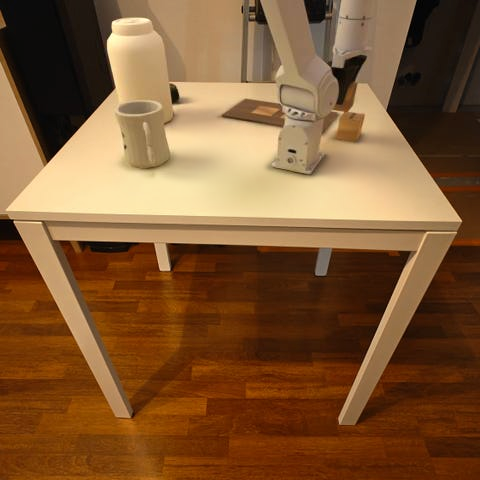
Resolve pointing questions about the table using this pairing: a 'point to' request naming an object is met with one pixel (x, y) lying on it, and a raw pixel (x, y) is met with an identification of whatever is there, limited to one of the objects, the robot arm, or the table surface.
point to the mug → (143, 133)
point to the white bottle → (139, 63)
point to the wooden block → (348, 98)
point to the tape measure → (174, 92)
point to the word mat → (265, 113)
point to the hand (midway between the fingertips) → (340, 100)
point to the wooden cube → (350, 126)
